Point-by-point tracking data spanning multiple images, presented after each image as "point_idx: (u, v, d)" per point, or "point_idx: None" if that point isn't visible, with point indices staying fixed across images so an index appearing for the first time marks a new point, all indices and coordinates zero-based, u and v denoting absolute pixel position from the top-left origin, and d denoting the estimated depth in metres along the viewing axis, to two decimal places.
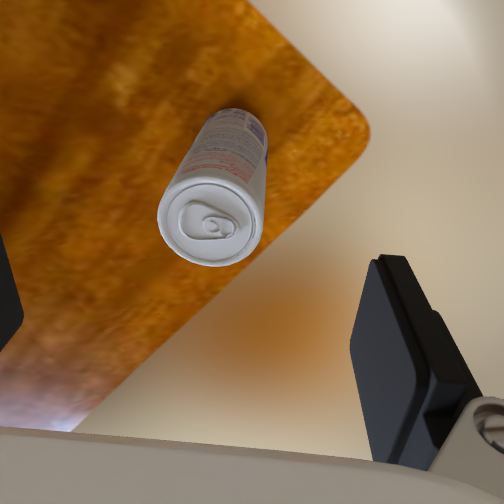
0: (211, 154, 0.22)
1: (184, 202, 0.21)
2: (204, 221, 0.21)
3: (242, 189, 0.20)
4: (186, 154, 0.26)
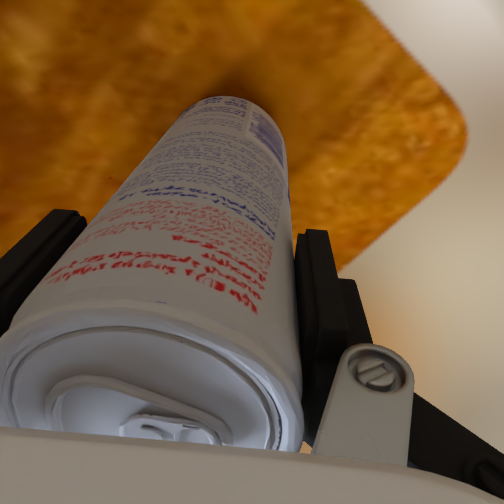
0: (153, 208, 0.08)
1: (55, 375, 0.07)
2: (123, 426, 0.07)
3: (241, 348, 0.06)
4: None
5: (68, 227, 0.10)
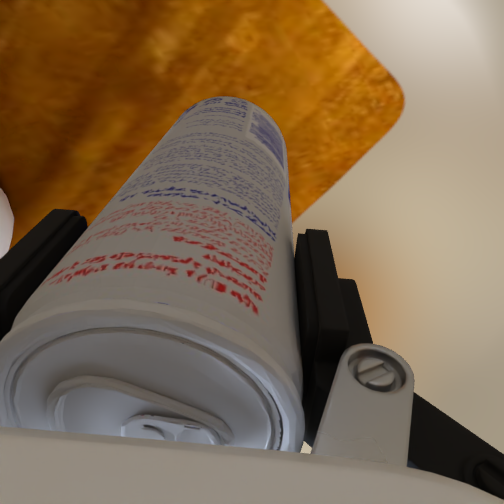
0: (155, 209, 0.08)
1: (56, 376, 0.07)
2: (124, 426, 0.07)
3: (242, 349, 0.06)
4: None
5: (68, 227, 0.10)
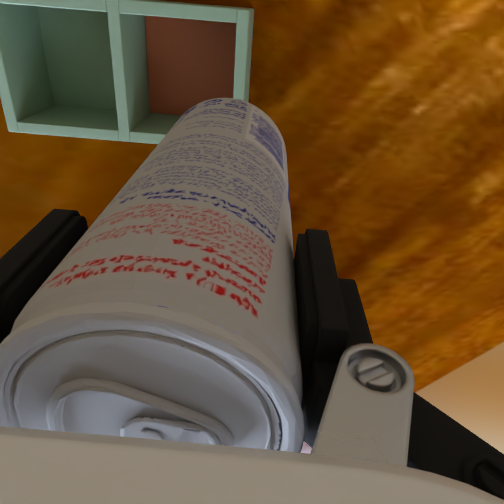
0: (154, 212, 0.08)
1: (56, 379, 0.07)
2: (124, 429, 0.07)
3: (241, 351, 0.06)
4: None
5: (68, 227, 0.10)
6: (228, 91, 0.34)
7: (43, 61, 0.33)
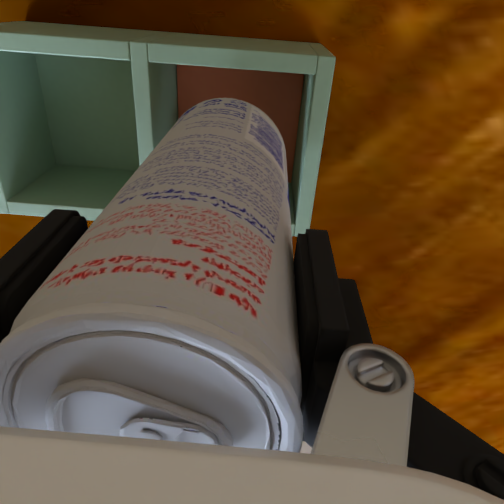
0: (154, 212, 0.08)
1: (55, 379, 0.07)
2: (123, 429, 0.07)
3: (240, 352, 0.06)
4: None
5: (68, 227, 0.10)
6: None
7: (42, 113, 0.25)
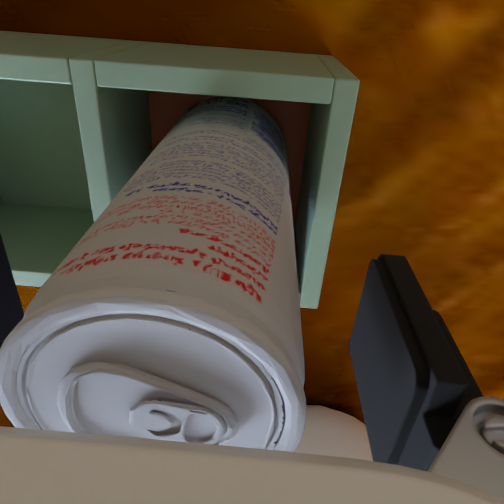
0: (161, 203, 0.08)
1: (68, 362, 0.07)
2: (132, 411, 0.07)
3: (247, 334, 0.06)
4: None
5: None
6: None
7: None
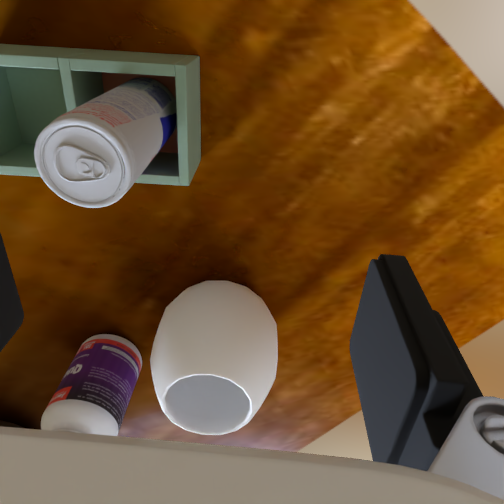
0: (88, 105, 0.25)
1: (56, 145, 0.23)
2: (77, 163, 0.23)
3: (105, 131, 0.23)
4: None
5: None
6: None
7: (11, 106, 0.36)
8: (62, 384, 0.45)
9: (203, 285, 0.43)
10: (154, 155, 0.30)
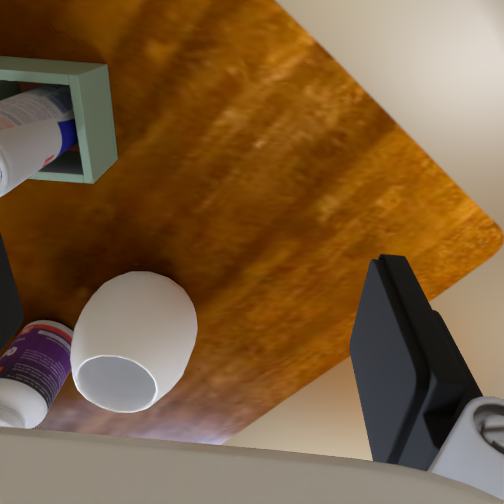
0: None
1: None
2: None
3: None
4: None
5: None
6: None
7: None
8: None
9: (125, 275, 0.46)
10: (50, 156, 0.33)
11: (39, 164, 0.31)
